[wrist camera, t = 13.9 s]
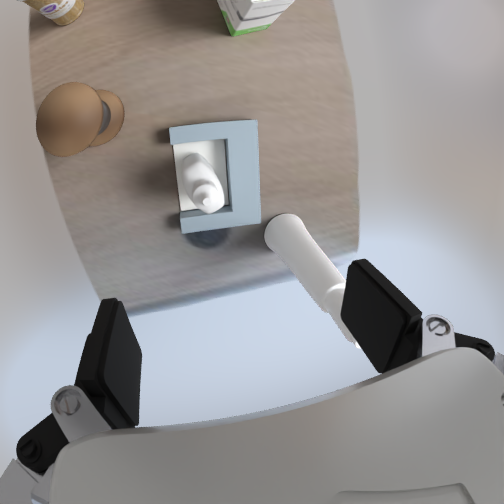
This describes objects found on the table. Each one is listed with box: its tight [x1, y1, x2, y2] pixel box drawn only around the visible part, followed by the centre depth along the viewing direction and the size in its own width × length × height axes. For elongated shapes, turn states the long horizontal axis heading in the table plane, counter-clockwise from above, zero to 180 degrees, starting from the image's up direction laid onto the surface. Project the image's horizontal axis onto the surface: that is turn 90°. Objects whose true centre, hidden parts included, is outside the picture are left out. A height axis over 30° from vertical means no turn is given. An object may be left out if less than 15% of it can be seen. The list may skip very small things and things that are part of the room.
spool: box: [36, 82, 124, 157], centre depth 23 cm, size 7×7×10 cm
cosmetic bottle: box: [264, 214, 361, 348], centre depth 30 cm, size 6×6×22 cm
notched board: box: [169, 120, 261, 234], centre depth 33 cm, size 13×10×2 cm
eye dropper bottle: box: [182, 153, 224, 214], centre depth 28 cm, size 4×6×12 cm
